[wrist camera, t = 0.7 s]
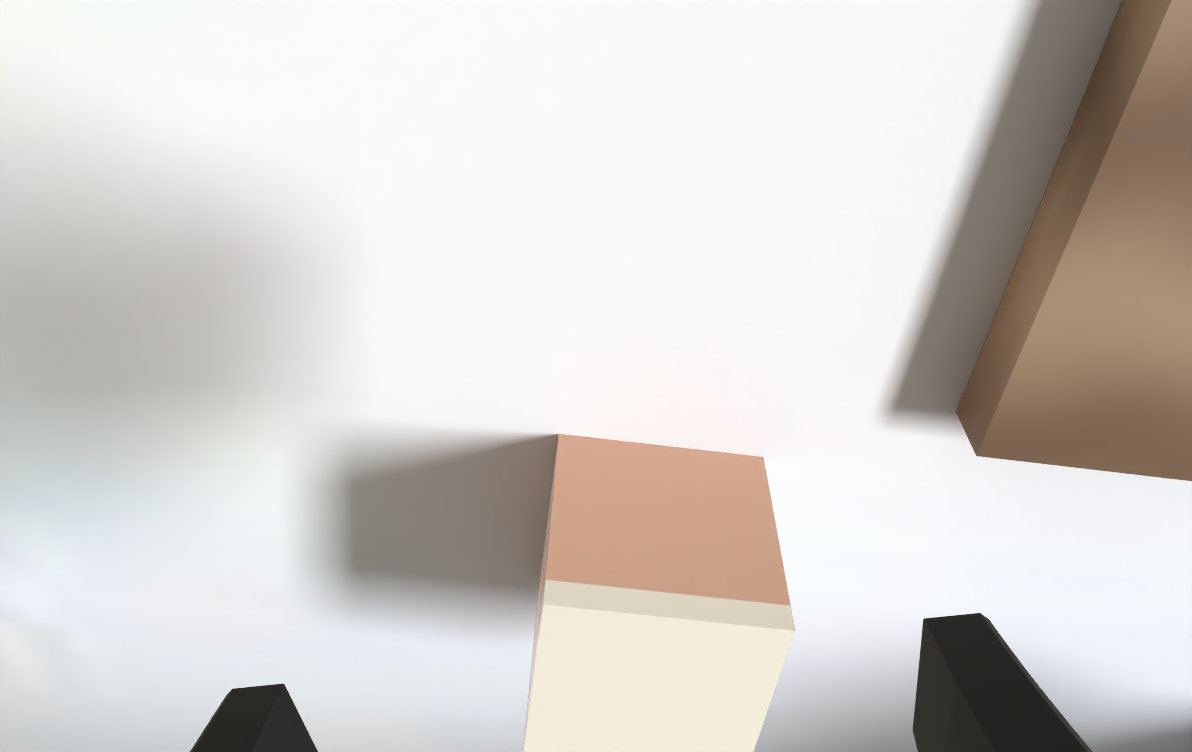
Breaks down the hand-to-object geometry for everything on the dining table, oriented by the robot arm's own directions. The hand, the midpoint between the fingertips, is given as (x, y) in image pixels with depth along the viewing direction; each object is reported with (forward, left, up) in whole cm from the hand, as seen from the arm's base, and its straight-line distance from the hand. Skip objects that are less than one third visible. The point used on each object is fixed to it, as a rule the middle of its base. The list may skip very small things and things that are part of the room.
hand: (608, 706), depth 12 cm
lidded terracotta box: (-6, -1, -10) cm, 12 cm away
